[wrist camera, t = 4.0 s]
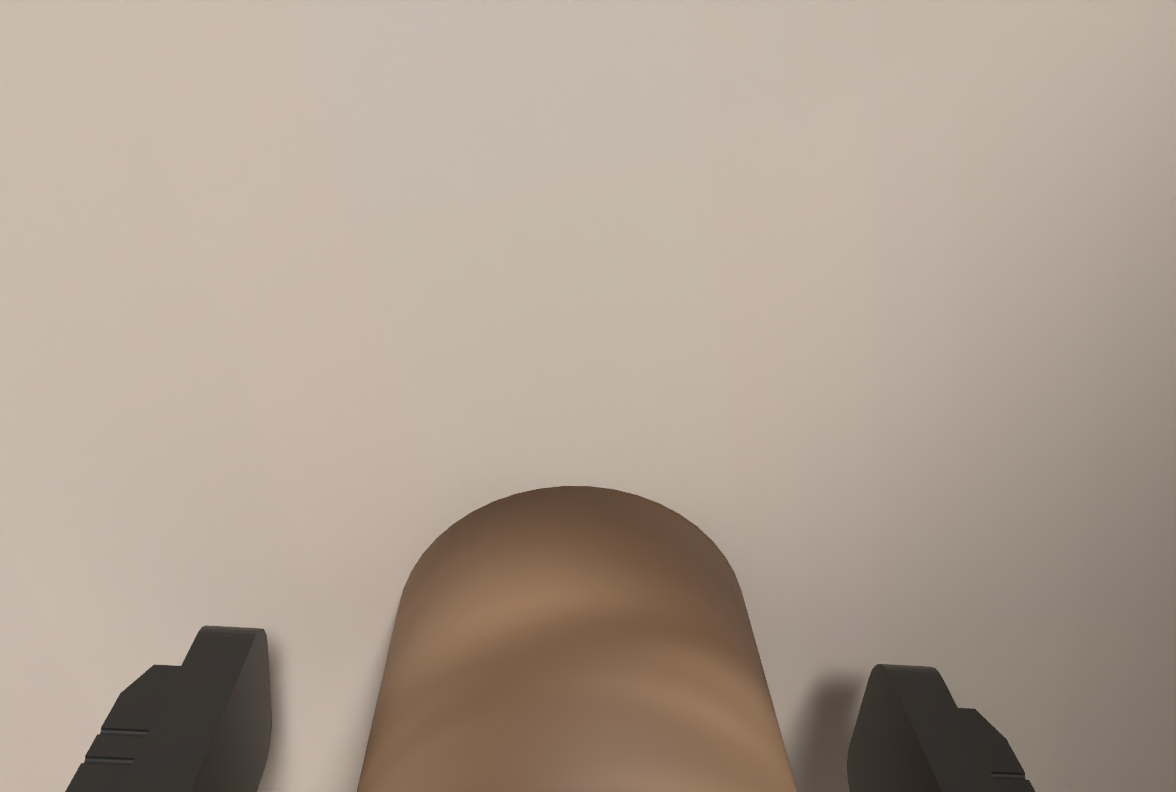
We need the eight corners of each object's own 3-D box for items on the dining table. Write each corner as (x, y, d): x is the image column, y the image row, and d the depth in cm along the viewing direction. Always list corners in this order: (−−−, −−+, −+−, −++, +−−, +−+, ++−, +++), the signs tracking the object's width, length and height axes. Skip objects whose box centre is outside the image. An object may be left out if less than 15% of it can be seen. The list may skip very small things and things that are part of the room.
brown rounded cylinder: (773, 497, 13) (887, 798, 9) (717, 768, 15) (784, 1121, 11) (398, 473, 13) (313, 773, 8) (395, 754, 15) (328, 1111, 10)
